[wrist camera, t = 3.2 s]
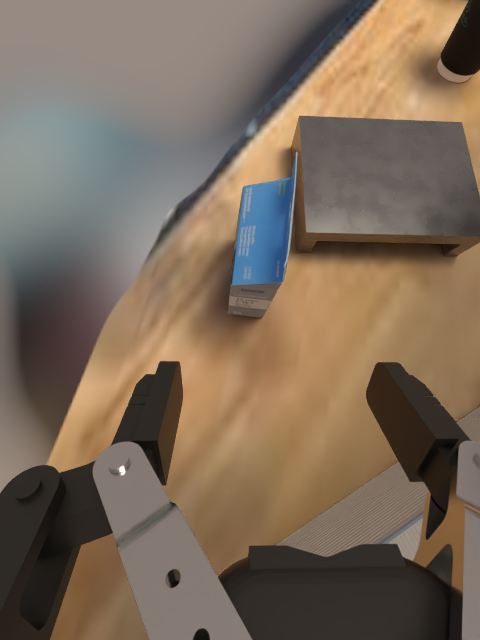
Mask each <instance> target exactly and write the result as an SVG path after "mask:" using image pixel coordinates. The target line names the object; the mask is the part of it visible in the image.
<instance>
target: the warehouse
mask: <svg viewBox="0 0 480 640" xmlns="http://www.w3.org/2000/svg"><path fill="white" fill-rule="evenodd" d="M456 423H457V424H458V425H459V426H460V428H461V429H462V430H463V431H464V433H465V434H466V435H467V436H468V437H469V439H470V440H471V441H477V442H480V406H479V407H478V408H476V409H475V410H473V411H472V412H471V413H469V414H468V415H466V416H465V417H463V418H462V419H460V420H459V421H457V422H456ZM428 491H429V490H428V488H427V487H426V485H425V483H424V482H410V481H409V479H408V477H407V476H406V474H405V472H404V470H403V468H402V466H401V464H400V463H399V461H398V462H397V463H395V464H394V465H392V466H391V467H390V468H388V469H387V470H385V471H384V472H382V473H381V474H379V475H378V476H376V477H375V478H373V479H372V480H370V481H369V482H367V483H366V484H364V485H363V486H362V487H360V488H359V489H357V490H356V491H354V492H353V493H351V494H350V495H348V496H347V497H345V498H344V499H342V500H341V501H339V502H338V503H336V504H335V505H334V506H332V507H331V508H329V509H328V510H326V511H325V512H323V513H322V514H320V515H319V516H317V517H316V518H314V519H313V520H311V521H310V522H309V523H307V524H306V525H304V526H303V527H301V528H300V529H298V530H297V531H295V532H294V533H292V534H291V535H289V536H288V537H286V538H285V539H283V540H282V541H281V542H279V543H278V544H276V545H275V546H279V545H287V546H290V547H293V548H297V549H300V550H303V551H307V552H310V553H314V554H317V555H320V556H324V557H328V556H332V555H334V554H337V553H340V552H342V551H345V550H347V549H350V548H353V547H355V546H358V545H361V544H397V545H398V547H399V549H400V552H401V554H402V556H403V557H405V558H407V559H409V560H412V561H413V560H414V557H415V555H416V552H417V550H418V547H419V542H420V536H421V529H422V522H423V515H424V508H425V500H426V495H427V492H428Z"/></svg>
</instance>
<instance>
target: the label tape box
mask: <svg viewBox="0 0 480 640" xmlns="http://www.w3.org/2000/svg"><path fill="white" fill-rule="evenodd" d="M297 155H298V152H296V154H295V159H294V164H293V169H292V174H291V178H286V179H281V180H276V181H271V182H266V183H260V184H254V185H248V186H244V187H243V190H242V196H241V203H240V209H239V216H238V223H237V230H236V237H235V244H234V252H233V260H232V269H231V279H230V288H229V301H228V310H227V311H228V314H233V315H242V316H252V317H260V318H262V317H263V315H264V314H265V312H266V310H267V308H268V306H269V305H270V303H271V301H272V299H273V298H274V296H275V294H276V292H277V290H278V288H279V287H280V285H281V283H282V282H283V280H284V277H285V272H286V267H287V262H288V257H289V251H290V243H291V232H292V222H293V210H294V199H295V187H296V173H297Z"/></svg>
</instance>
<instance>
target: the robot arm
mask: <svg viewBox="0 0 480 640" xmlns="http://www.w3.org/2000/svg"><path fill="white" fill-rule="evenodd" d="M366 398H367V402H368V405H369V407H370V409H371V411H372V412H373V414H374V416H375V418H376V420H377V422H378V424H379V425H380V427H381V429H382V431H383V433H384V435H385V437H386V438H387V440H388V442H389V444H390V446H391V448H392V450H393V451H394V453H395V455H396V457H397V459H398V461H399V463H400V464H401V466H402V468H403V470H404V472H405V474H406V476H407V477H408V479H409V481H410V482H424V483H425V485H426V487H427V488H428V490H429V491H428V492H427V495H426V500H425V508H424V515H423V522H422V529H421V536H420V542H419V547H418V550H417V552H416V555H415V557H414V560H413V561H412V560H409V559H407V558H405V557H403V556H402V554H401V552H400V549H399V547H398V545H397V544H361V545H358V546H355V547H353V548H350V549H347V550H345V551H342V552H340V553H337V554H334V555H332V556H328V557H324V556H320V555H317V554H314V553H310V552H307V551H303V550H300V549H297V548H293V547H290V546H287V545H279V546H249V554H248V557H247V558H245V559H242V560H240V561H238V562H236V563H234V564H232V565H231V566H230V567H228V568H227V569H226V570H224V571H223V572H222V573H221V574H220V575H219V576H218V577H217V575H216V573H215V572H214V570H213V568H212V566H211V565H210V563H209V561H208V559H207V557H206V556H205V554H204V552H203V550H202V548H201V547H200V545H199V543H198V541H197V539H196V538H195V536H194V534H193V532H192V531H191V529H190V527H189V525H188V523H187V522H186V520H185V518H184V516H183V514H182V513H181V511H180V509H179V508H178V506H177V505H176V504H175V503H172V502H171V501H170V499H169V497H168V496H167V494H166V492H165V490H164V488H163V486H162V485H166V483H167V478H168V473H169V468H170V463H171V458H172V453H173V448H174V443H175V438H176V433H177V428H178V423H179V418H180V413H181V407H182V401H183V387H182V377H181V367H180V362H178V361H161V362H160V363H159V365H158V368H157V371H156V374H146V375H145V376H144V377H143V378H142V379H141V380H140V381H139V382H138V383H137V384H136V386H135V389H134V391H133V394H132V397H131V399H130V401H129V403H128V406H127V408H126V411H125V413H124V416H123V418H122V420H121V423H120V425H119V428H118V430H117V433H116V435H115V437H114V440H113V442H112V444H111V446H110V447H108V448H107V449H106V450H104V451H103V452H102V453H101V454H100V455H99V457H98V458H97V459H96V460H95V461H93V462H91V463H89V464H87V465H84V466H81V467H78V468H75V469H71V470H68V471H65V472H61V473H58V471H57V470H56V469H55V468H54V467H52V466H48V465H42V466H36V467H33V468H30V469H28V470H26V471H24V472H22V473H20V474H19V475H17V476H16V477H15V478H13V479H12V480H11V481H10V482H9V483H8V484H7V485H6V487H5V488H4V489H3V490H2V492H1V493H0V640H50V637H51V634H52V631H53V628H54V625H55V622H56V619H57V616H58V613H59V610H60V607H61V604H62V601H63V598H64V595H65V592H66V589H67V586H68V583H69V580H70V577H71V574H72V571H73V568H74V565H75V562H76V559H77V556H78V553H79V550H80V547H81V545H83V544H85V543H88V542H91V541H93V540H96V539H98V538H101V537H104V536H106V535H109V534H112V533H113V534H114V537H115V540H116V543H117V548H118V551H119V554H120V557H121V560H122V563H123V566H124V569H125V571H126V574H127V577H128V580H129V583H130V586H131V589H132V591H133V594H134V597H135V600H136V603H137V606H138V608H139V611H140V614H141V617H142V620H143V623H144V626H145V628H146V631H147V634H148V637H149V640H480V442H477V441H471V440H470V439H469V437H468V436H467V435H466V434H465V433H464V431H463V430H462V429H461V428H460V426H459V425H458V424H457V423H456V422H455V420H454V419H453V418H452V417H451V416H450V414H449V413H448V412H447V411H446V410H445V408H444V407H443V406H441V403H440V402H439V401H438V400H437V399H436V397H433V394H432V393H431V391H430V390H429V389H428V388H427V387H426V385H425V384H423V383H422V382H421V381H419V380H418V379H417V378H415V377H414V376H412V375H409V374H408V373H407V372H406V371H405V369H404V368H403V367H402V365H401V364H399V363H397V362H379V363H377V364H376V365H375V368H374V370H373V373H372V376H371V379H370V382H369V385H368V387H367V391H366Z"/></svg>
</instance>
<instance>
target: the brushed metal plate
mask: <svg viewBox="0 0 480 640" xmlns="http://www.w3.org/2000/svg"><path fill="white" fill-rule="evenodd" d="M296 152H298V155H297V173H296V187H295V199H294V214H295V235H296V252H303V253H310V252H311V250H312V248H313V247H314V245H315V243H316V242H317V241H346V242H387V243H429V244H442V250H443V255H444V256H458V255H459V254H461V253H463V252H464V251H466V250H468V249H469V248H471V247H473V246H474V245H476V244H478V243H480V197H479V193H478V188H477V184H476V180H475V176H474V172H473V167H472V163H471V159H470V155H469V150H468V146H467V142H466V138H465V134H464V129H463V125H462V122H439V121H414V120H390V119H365V118H340V117H316V116H299V119H298V122H297V126H296V130H295V134H294V138H293V142H292V146H291V154H292V169H293V164H294V159H295V154H296Z"/></svg>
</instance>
